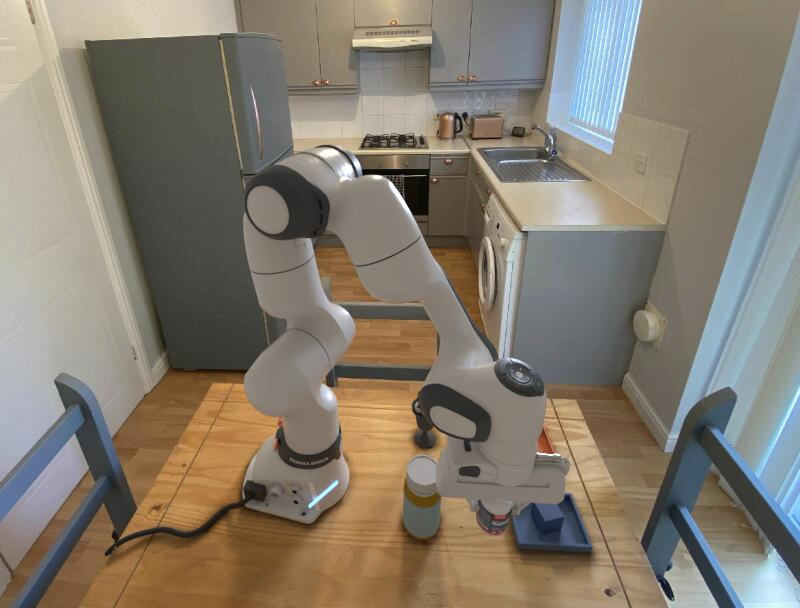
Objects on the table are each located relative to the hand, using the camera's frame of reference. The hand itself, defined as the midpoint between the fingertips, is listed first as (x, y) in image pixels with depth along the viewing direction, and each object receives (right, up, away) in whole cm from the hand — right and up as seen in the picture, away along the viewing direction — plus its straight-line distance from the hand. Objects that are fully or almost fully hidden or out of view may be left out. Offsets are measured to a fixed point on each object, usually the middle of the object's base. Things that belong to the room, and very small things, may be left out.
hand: (493, 509), depth 71 cm
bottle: (-11, -10, +11) cm, 18 cm away
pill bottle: (0, -3, +1) cm, 3 cm away
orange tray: (+14, -3, +26) cm, 30 cm away
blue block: (+13, -9, +10) cm, 19 cm away
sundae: (-8, -3, +28) cm, 29 cm away
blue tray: (+13, -10, +10) cm, 19 cm away
